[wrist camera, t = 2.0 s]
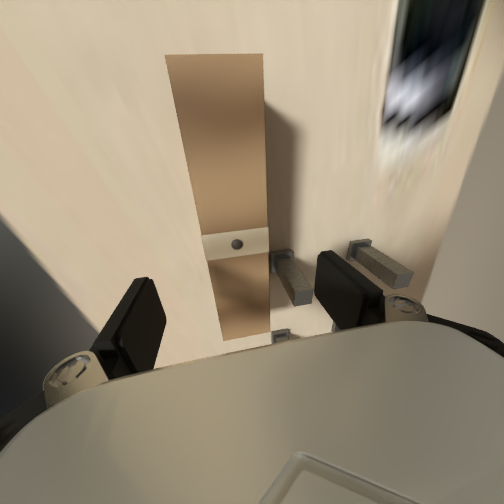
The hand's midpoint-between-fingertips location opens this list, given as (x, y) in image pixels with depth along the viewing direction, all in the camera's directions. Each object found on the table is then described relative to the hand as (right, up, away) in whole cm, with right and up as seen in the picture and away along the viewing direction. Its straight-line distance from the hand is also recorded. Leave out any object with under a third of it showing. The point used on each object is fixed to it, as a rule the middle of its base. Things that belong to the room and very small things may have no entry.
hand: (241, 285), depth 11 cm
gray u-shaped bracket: (+9, +2, +12) cm, 15 cm away
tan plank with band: (-2, +5, +8) cm, 10 cm away
